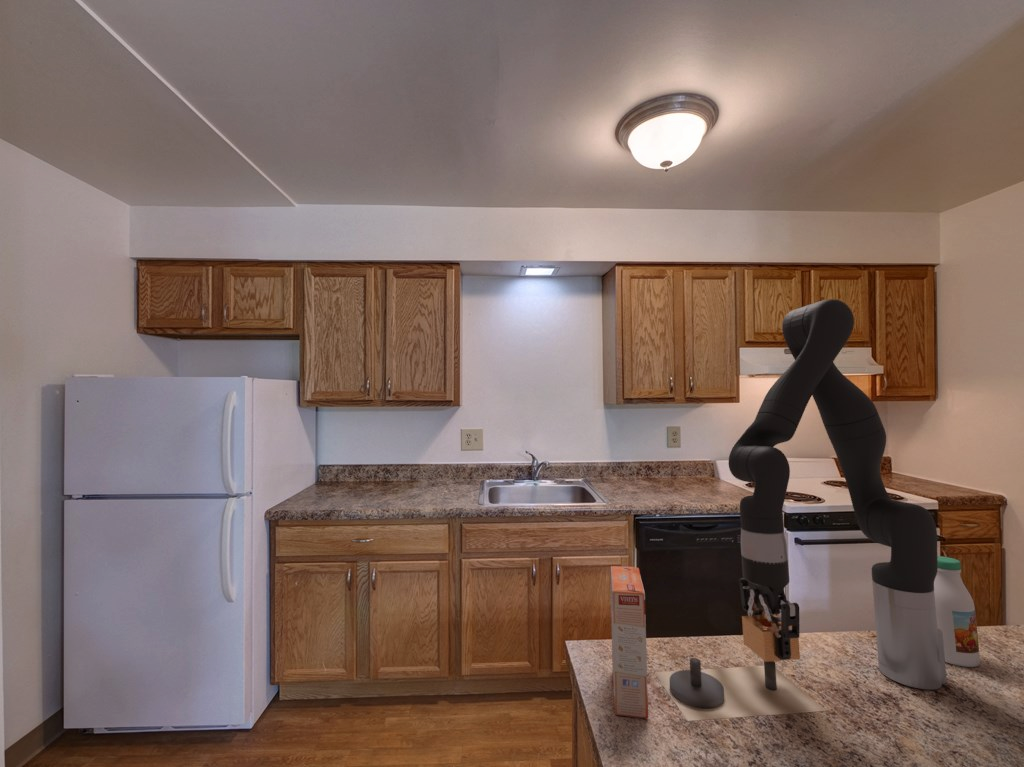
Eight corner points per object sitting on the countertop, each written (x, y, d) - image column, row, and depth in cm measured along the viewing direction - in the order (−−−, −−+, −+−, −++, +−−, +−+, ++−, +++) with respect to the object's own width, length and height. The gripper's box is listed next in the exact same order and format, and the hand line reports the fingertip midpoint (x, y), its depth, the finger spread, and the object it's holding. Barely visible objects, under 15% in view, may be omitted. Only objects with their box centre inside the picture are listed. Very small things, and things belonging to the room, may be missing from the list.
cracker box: (650, 721, 76) (646, 592, 78) (614, 716, 77) (610, 590, 79) (643, 674, 90) (639, 565, 91) (612, 671, 91) (609, 564, 92)
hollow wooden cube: (775, 641, 86) (773, 613, 86) (800, 658, 80) (797, 629, 80) (743, 643, 85) (741, 616, 86) (765, 661, 79) (763, 632, 79)
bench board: (772, 672, 89) (770, 636, 90) (827, 720, 75) (824, 676, 76) (654, 680, 87) (652, 643, 88) (688, 730, 73) (686, 685, 74)
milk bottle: (938, 664, 91) (930, 562, 93) (921, 646, 99) (913, 551, 100) (989, 671, 89) (979, 566, 90) (967, 652, 96) (959, 555, 97)
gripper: (811, 565, 77) (819, 668, 76) (758, 542, 91) (765, 628, 90) (769, 568, 76) (777, 672, 75) (723, 544, 91) (728, 631, 89)
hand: (770, 648), depth 83 cm, fingers closed on hollow wooden cube, 6 cm apart
